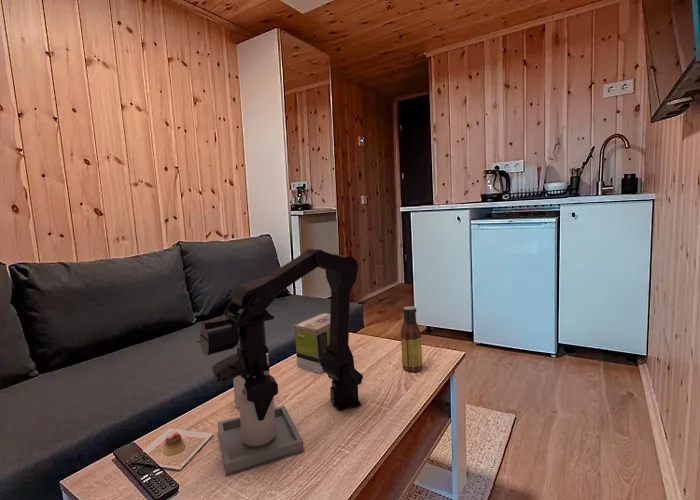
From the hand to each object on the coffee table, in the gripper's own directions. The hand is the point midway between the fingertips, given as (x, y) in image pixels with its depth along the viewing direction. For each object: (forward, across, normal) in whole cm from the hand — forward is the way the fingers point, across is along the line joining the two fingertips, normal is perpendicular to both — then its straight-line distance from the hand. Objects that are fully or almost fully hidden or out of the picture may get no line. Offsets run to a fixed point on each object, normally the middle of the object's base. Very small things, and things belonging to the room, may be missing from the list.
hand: (256, 409), depth 83 cm
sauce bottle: (+8, -15, +51) cm, 54 cm away
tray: (+8, 0, 0) cm, 8 cm away
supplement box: (+8, -18, +2) cm, 20 cm away
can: (+7, 0, 0) cm, 7 cm away
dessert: (+8, -6, -17) cm, 20 cm away
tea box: (+8, -33, +28) cm, 44 cm away
